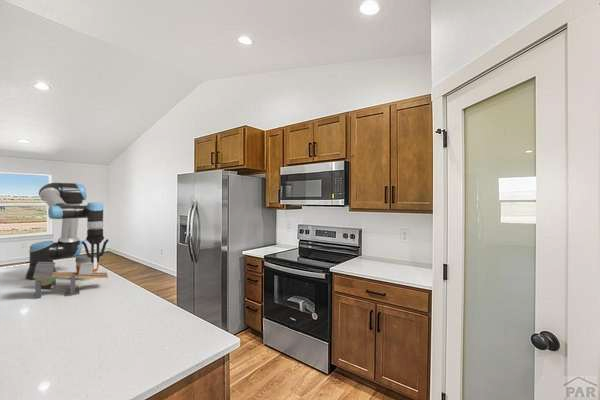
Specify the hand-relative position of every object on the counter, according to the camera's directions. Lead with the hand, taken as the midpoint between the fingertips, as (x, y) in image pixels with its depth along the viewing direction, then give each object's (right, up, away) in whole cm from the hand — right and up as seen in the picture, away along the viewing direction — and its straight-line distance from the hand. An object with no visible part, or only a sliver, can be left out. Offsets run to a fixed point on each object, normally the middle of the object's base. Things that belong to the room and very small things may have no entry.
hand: (95, 268), depth 158 cm
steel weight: (-4, -3, -3) cm, 6 cm away
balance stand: (-13, -12, -10) cm, 20 cm away
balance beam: (-8, -3, -6) cm, 10 cm away
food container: (-28, -12, +1) cm, 30 cm away
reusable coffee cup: (-20, -12, +20) cm, 31 cm away
